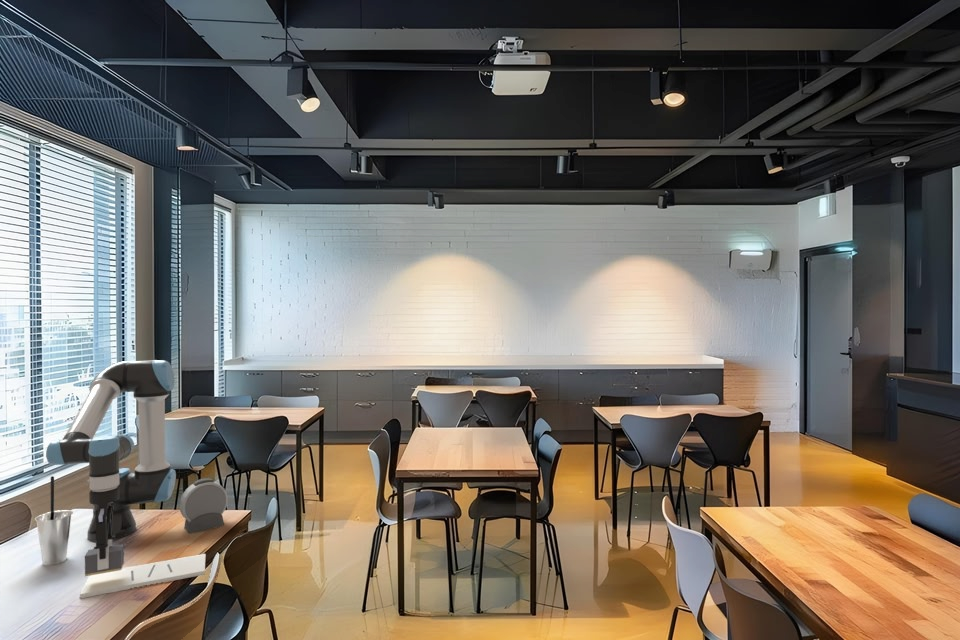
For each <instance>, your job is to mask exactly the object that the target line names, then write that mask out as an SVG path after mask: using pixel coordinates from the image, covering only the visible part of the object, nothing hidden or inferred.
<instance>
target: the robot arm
mask: <svg viewBox="0 0 960 640" xmlns="http://www.w3.org/2000/svg"><path fill="white" fill-rule="evenodd" d="M175 382H176V381H175V373H174V369H173V367H172V365H171V363H170V362H169V361H167V360H162V359H161V360H157V359H153V360H152V359H150V360H149V359H148V360H147V359H146V360H124V361H119V362H116V363H114V364H112V365H109V366H107V367H106V368H104V369H103V370H102V371H100V373H98V374H97V375H96V376H95V377H94V378H93V380H92V382H91V383H90V385H89V389H88V391H89V393H88V394H87V396H86V399H85V400H84V402H83V403H82V405H81V406H80V409H79V410H78V412H77V414H76V416H75V418H74V419H73V421H72V423H71V424H70V426H69V427H68V430H67V431H66V433H65V435H64V437H62V440H61V439H57V440H52V441H51V442H49V443H48V445H47V447H46V452H45V453H46V454H45V459H46V461H47V463H48V464H49V465H51V466H52V465H53V466H55V465H56V466H60V465H61V466H66V465H76V464H88V468H89V469H88V473H89V474H88V476H89V478H87V480H86V482H87V483H89V491H88V492H89V498H88V499H89V504H92V517H91V521H90V523H89V526H88V530H87V534H86V535H87V540H88V541H92V542H95V546H93V549H97V570H102V569H108V568H109V546H113V540H116V539H120V538H124V537H127V536H129V535H131V534H133V533H134V532H135V531H136V530H137V522H136V520H135V517H134V515H133V512H132V510H131V505H139V504H149V503H150V504H151V503H160V502H165V501H168V500H170V498H171V496H172V494H173V492H174V489H175V484H176V481H177V480H176V478H177V473H176V469H173V468H171V464H170V463H169V462H168V461H167V460H166V411H165V410H166V406H165V405H166V404H165V402H166V400H165V399H166V398H167V397H168V396H169V395H170V391H173V389H175V388H174V387H175ZM130 392H131V393H133V398H134V399H135V400H136V401H137V402H138V453H139V454H138V455H139V457H138V459H139V460H138V461H139V464H138V465H137V466H135V468H134V472H132V471H131V469H130V468H129V467H126V468H125V467H122V468H120V461H122V460H124V459H126V458H128V457H129V455H130V454H131V453H132V452H133V451H134V448H135V443H134V440H133V439H132V437H130V436H129V435H126V434H119V435H101V436H97V437H95V436H96V433H97V431H98V429H99V427H100V425H101V424H102V422H103V420H104V418H105V416H106V415H107V412H108V410H109V408H110V406H111V404H112V402H113V400H115V399H117V398H118V397H119V396H120V394H121V393H130Z"/></svg>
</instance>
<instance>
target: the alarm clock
mask: <svg viewBox="0 0 960 640" xmlns="http://www.w3.org/2000/svg"><path fill="white" fill-rule="evenodd" d="M228 502H229V497H228V492H227V490H226V489H225V488H224V487H223V486H222V485H221V484H219V482H216V481H215V479H213V478H208V477H207V478H206V477H205V478H203V477H202V478H200V479H198V480H195V481H194V482H193V483H192V484H190V485H189V486H188V487H187V488H186V489H185V491H183V493H182V494H181V498H180V499H179V512H180V514H181V516H182V518H184V519H185V520H184V526H183V527H184V528H183V529H184V530H185V531H186V532H187V533H188V534H195V533H201V532H205V531H209V530H213V529H217V528H219V527H222V526H224V525H225V523H224V517H223V514H224V512H225V511H226V508H227V507H228Z"/></svg>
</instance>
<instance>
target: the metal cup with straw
mask: <svg viewBox="0 0 960 640" xmlns="http://www.w3.org/2000/svg"><path fill="white" fill-rule="evenodd" d="M73 513H74V510H71V509H70V510H69V509H68V510H67V509H62V510H55V476H50V511H49V512H45V513H42V514H40V515H38V516H36V517H35V518H34V521H36V528H37V535H38V543H39V548H40V554H41V562H42V563H41V564H42V565H43V566H53V565H58V564H60V563H64V562H65V561H66V560H67V557H68V549H69V548H68V546H69V538H70V531H71V530H70V529H71V520H72V515H73Z"/></svg>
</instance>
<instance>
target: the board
mask: <svg viewBox="0 0 960 640" xmlns="http://www.w3.org/2000/svg"><path fill="white" fill-rule="evenodd" d="M206 557H207V555H206V553H201V554H196V555H190V556H183V557H179V558H177V557H176V558H172V559H168V560H160V561H156V562H151V563H144V564H139V565H138V564H137V565H132V566H127V567H122V569H121V570H119V571H113V572H108V573H102V574H96V575H90V576H87V580H86V581H85V584H84V586H83V588H82V589H81V592H80V594H79V599H83V598H89V597H94V596H99V595H106V594H109V593H115V592H121V591H126V590H131V589H130V588H132V589H135V588H134V587H137V588H140V587H139V586H142V587H144V586H143V585H147V586H151V585H150V584H153V585H157V584H156V583H158V584H161V582H163V583H168V582H173V581H178V580H183V579H188V578H189V579H190V578H193V577H199V576H203V575H204V576H205V572H206Z"/></svg>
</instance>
